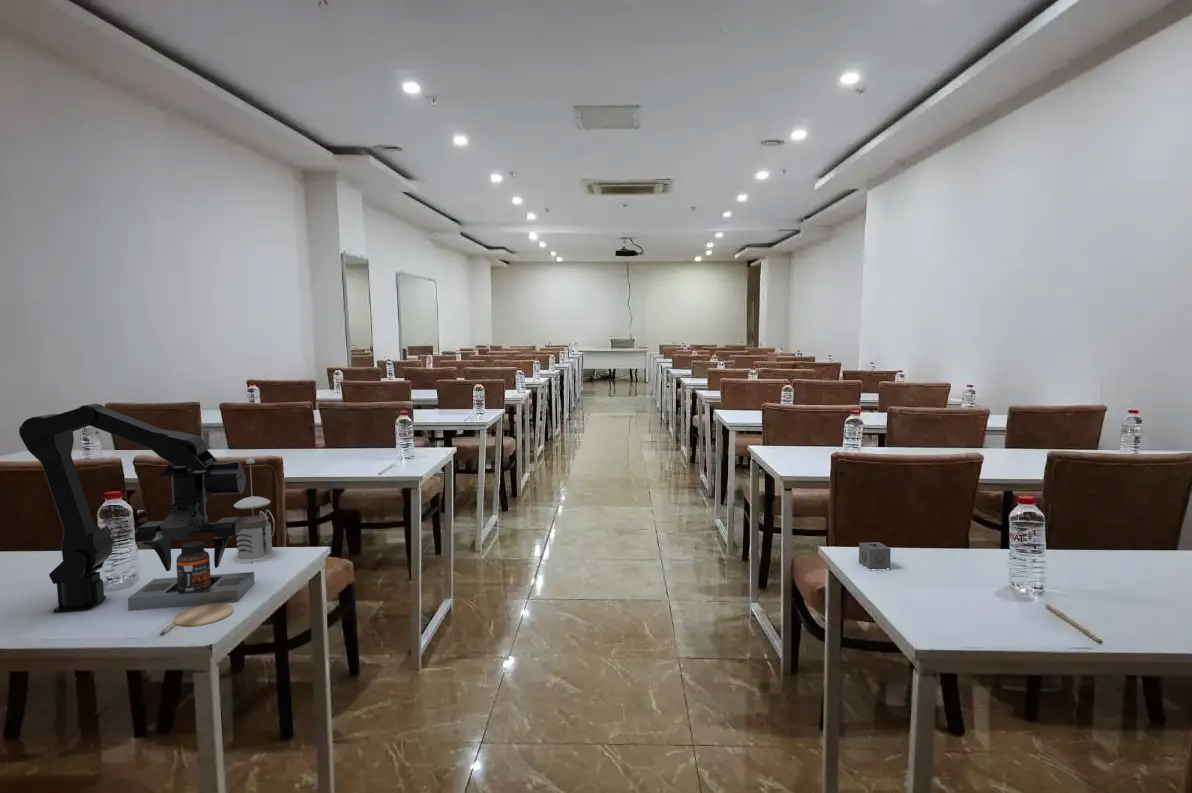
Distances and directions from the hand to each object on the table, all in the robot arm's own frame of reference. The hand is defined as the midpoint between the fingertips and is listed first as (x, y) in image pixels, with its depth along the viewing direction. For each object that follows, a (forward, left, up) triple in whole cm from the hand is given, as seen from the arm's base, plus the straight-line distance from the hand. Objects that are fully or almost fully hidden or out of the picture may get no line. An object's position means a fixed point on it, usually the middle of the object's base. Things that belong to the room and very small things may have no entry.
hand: (192, 568), depth 135 cm
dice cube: (+150, -15, -6) cm, 151 cm away
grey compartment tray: (0, 0, -6) cm, 6 cm away
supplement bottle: (0, 0, -6) cm, 6 cm away
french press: (+5, +24, -6) cm, 26 cm away
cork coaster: (+6, -12, -6) cm, 14 cm away
